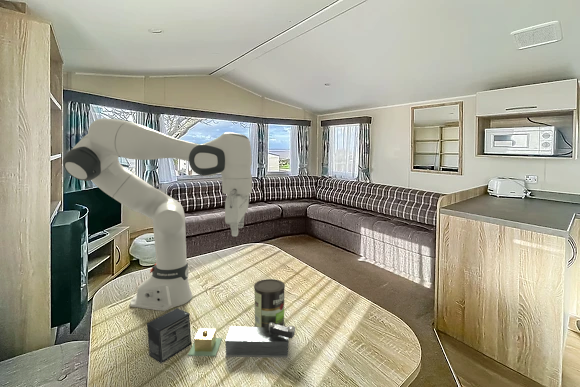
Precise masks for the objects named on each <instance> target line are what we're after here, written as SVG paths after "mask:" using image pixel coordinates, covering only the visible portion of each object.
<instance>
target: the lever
mask: <svg viewBox="0 0 580 387" xmlns="http://www.w3.org/2000/svg"><path fill="white" fill-rule="evenodd" d="M295 332H296V327H295V326H294V325H289V326H285V325H284V326H281V325H277V324H274V323H273V322H271V323H269V334H270V335H273V334H277V335H280V336H284V337H287V338H289V339H291V340H292V339H293V338H294V336H295V334H296V333H295Z"/></svg>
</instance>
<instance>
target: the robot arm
mask: <svg viewBox="0 0 580 387" xmlns="http://www.w3.org/2000/svg"><path fill="white" fill-rule="evenodd" d="M251 145H252V144H251V141H250V138H248V136H247V135H245V134H242V133H236V132H231V131H226V132H223V133H222V134H221V135H220V136H218V137H217V138H214V139H212V140H210V141H207V142H204V143H201V144H200V143H198V142H197V143H196V142H193V141H192V142H191V141H187V140H184V139H183V140H182V139H180V138H175V137H172V136H171V135H166V134H164V133H162V132H159V131H157V130H154V129H152V128H150V127H147V126H145V125H142V124H139V123H135V122H132V121H128V120H123V119H118V118H117V119H116V118H97V119H96V120H93V121H92V123H90V125H89V127H88V131H87V134H85V135H84V136H83V137H82V138H81V139H80V140H79V141H78V142H77V143H76V144H75V145H74V146H73V147H72V149H70V150H68V151H67V153H66V154H65V155H64V157H63V158H62V164H63V167H64V168H63V169H64V171H66V172H67V173H68V174H69V175H70V177H71V176H72V177H73V178H75V179H77V180H79V181H85V182H89V181H91V182H92V183H93V184H94V185H96V187H97V188H99V189H100V190H101V191H102V192H103V193H105V194H106V195H108V196H109V197H111V198H112V199H114V200H115V201H117V202H118V203H120V204H121V205H123V206H125V207H126V208H128V209H129V210H131V211H133V212H136V213H139V214H141V215H143V216H145V217H147V218H149V219H151V220H152V228H153V237H154V238H153V240H154V246H155V247H154V248H155V263H154V265H153V266H151V268H150V269H149V271H150V272H149V274H150V276H148V277H147V278H146V279H144V281H142V282H141V283H140V284H139V286H138V287H137V290H136V294H135V295H133V297H132V299H131V300H130V304H129V305H130V307H131V308H132V307H133V308H138V309H139V308H140V309H145V310H146V309H147V310H154V311H163V312H164V311H165V312H166V311H169V310H170V309H172V308H175V307H176V308H177V307H179V306H183V305H184V304H186V303H189V302H190V301H191V300H192V298H193V293H192V290H191V287H190V282H189V263H188V260H187V238H186V237H187V236H186V235H187V234H186V232H187V231H186V229H187V228H186V214H185V211H184V207H183V205H182V204H181V203H180V202H179V201H178V200H176V199H175V198H173V197H171V196H170V195H168V194H166V193H165V192H163V191H161V190H160V189H158V188H156V187H155V186H153V185H151V184H150V183H148V182H147V181H145V180H144V179H142V178H141V177H139V176H138V175H136V174H135V173H133V172H132V171H131V170H129V169H127V168H126V167H125V166H123V165H122V164H121V163H120V161H119V158H123V159H130V160H135V161H138V160H139V161H149V160H158V159H159V160H161V159H176V160H177V159H178V160H181V161H185V162H188V164H189V166H190V168H191V170H192V171H193V172H194V173H195V174H197V175H199V176H202V177H210V176H214V175H221V182H222V183H221V187H222V189H221V190H222V191H221V192H222V194H224V195H226V198H225V203H224V222H225V224H226V225H229V227H230V230H231V236H232V237H238V235H239V229H243V227H244V224H245V223H244V221H245V215H246V213H247V212H248V210H249V204H250V194H252V192H253V179H252V175H253V174H252V172H251V167H252V146H251Z"/></svg>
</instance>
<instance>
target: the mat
mask: <svg viewBox="0 0 580 387" xmlns="http://www.w3.org/2000/svg"><path fill="white" fill-rule="evenodd" d="M222 339H223V338H222V337H216V342H215V345H214V347H213V350H212V352H207V351H195V345H194V343H192V344H191V348H190V349H189V351H188V354H187V356H188V357H193V356H194V357H216V355H217V353H218V350H219V349H220V346H221V343H222V341H223V340H222Z"/></svg>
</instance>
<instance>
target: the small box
mask: <svg viewBox="0 0 580 387" xmlns="http://www.w3.org/2000/svg"><path fill="white" fill-rule="evenodd" d="M190 322H191V319H190V313H189V312H188V311H185V310H182V309H180V308H178V307H176V308H174V309H173V310H171V311H168V312H167V313H164V314H162V315H161V316H158V317H156V318H155V319H154V318H153V319H152V320H150V321H148V322H147V323H146V330H147V341H148V343H147V344H148V356H149V357H150V358H152V359H153V360H155V361H156V362H158V363H159V364H163V363H165V362H166V361H169V360H170V359H171V358H173V357H174V356H177V355H178V354H179V353H180V352H183V351H184V350H186V349H188V348H189V347H190V346H192V345H193V343H192V334H191V323H190Z"/></svg>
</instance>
